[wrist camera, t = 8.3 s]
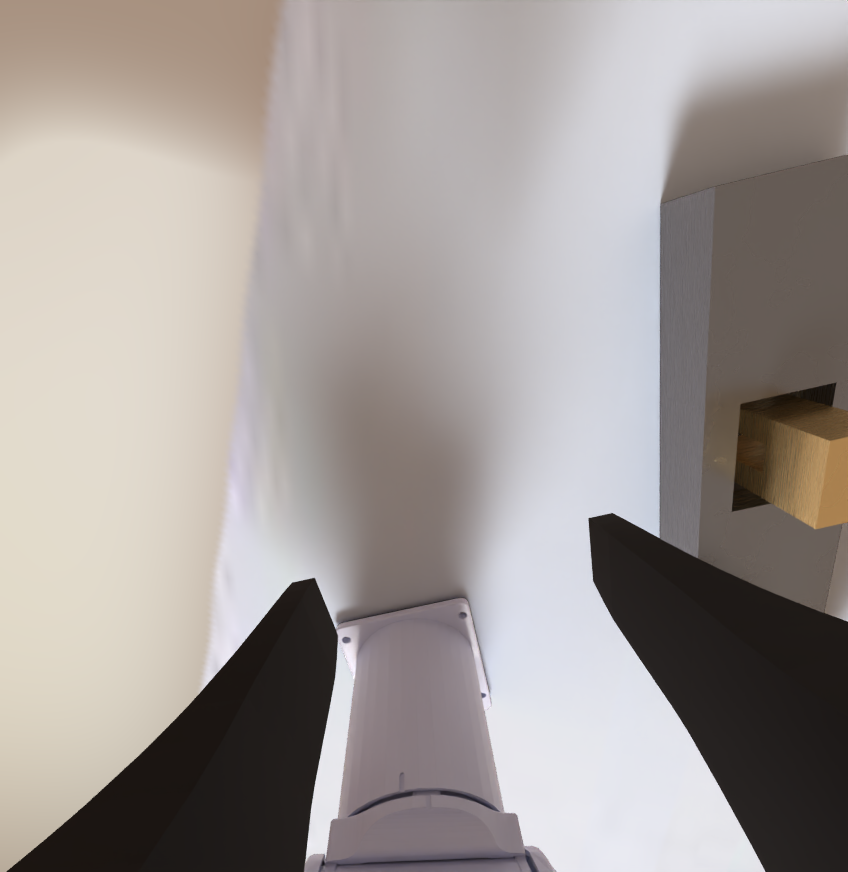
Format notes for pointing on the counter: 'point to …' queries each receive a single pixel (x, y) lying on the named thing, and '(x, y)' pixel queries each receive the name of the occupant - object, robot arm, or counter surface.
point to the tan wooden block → (795, 457)
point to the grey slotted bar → (750, 361)
